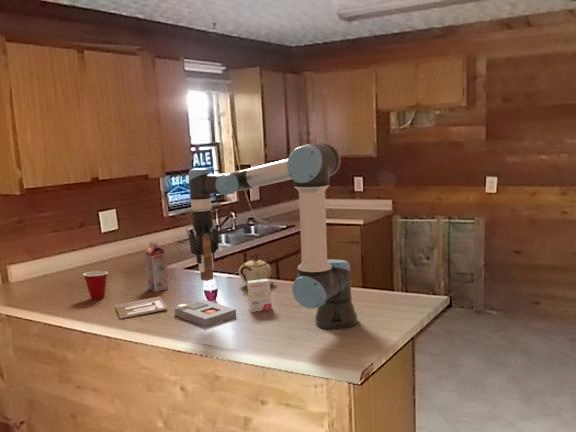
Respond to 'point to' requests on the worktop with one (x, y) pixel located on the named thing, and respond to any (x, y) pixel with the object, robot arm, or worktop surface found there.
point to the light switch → (143, 303)
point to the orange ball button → (210, 311)
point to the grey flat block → (198, 309)
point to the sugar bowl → (255, 269)
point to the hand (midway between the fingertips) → (206, 270)
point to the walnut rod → (207, 258)
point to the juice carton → (156, 268)
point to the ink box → (259, 295)
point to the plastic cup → (96, 283)
